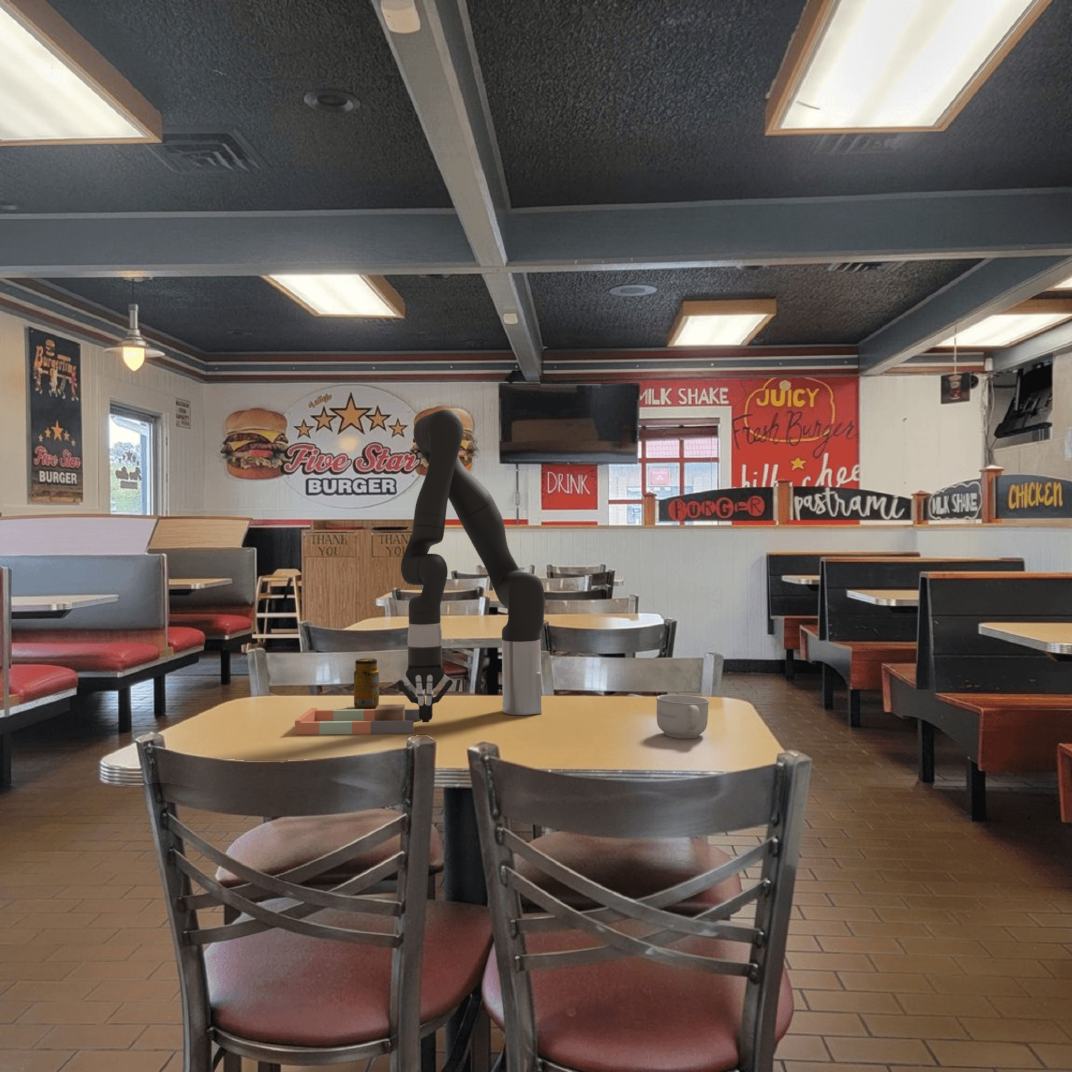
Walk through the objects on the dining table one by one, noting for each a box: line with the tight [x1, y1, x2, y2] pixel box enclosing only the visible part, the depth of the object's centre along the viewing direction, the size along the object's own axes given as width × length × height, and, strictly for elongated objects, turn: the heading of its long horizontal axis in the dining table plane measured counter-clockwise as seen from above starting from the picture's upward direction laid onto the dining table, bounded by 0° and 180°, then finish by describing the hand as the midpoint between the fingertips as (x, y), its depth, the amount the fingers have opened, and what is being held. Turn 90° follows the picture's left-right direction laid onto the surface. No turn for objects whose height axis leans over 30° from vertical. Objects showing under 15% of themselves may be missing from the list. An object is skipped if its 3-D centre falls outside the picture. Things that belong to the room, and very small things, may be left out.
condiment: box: [346, 657, 380, 710], centre depth 209 cm, size 7×8×12 cm
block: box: [375, 703, 406, 721], centre depth 189 cm, size 6×6×4 cm
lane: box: [294, 707, 422, 736], centre depth 189 cm, size 25×13×3 cm, turn 90°
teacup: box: [655, 694, 710, 740], centre depth 176 cm, size 14×11×8 cm
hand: (425, 721), depth 189 cm, fingers closed
